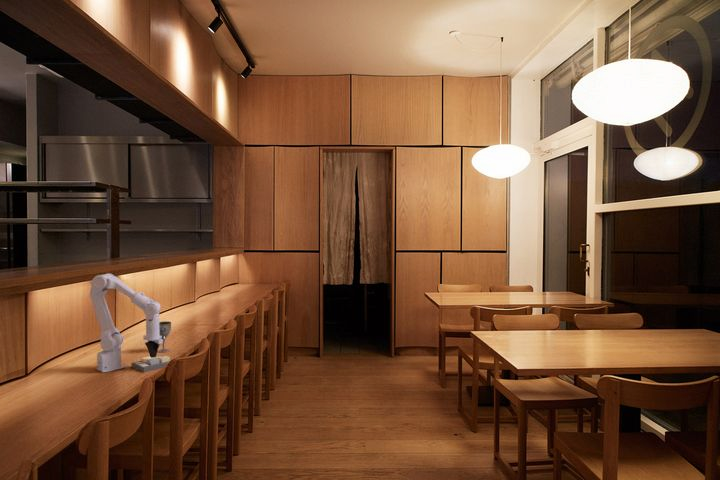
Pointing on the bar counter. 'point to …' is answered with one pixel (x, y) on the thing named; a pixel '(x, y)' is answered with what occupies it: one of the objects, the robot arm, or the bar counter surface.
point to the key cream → (146, 359)
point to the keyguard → (148, 366)
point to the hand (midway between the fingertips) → (153, 356)
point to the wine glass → (164, 333)
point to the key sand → (164, 359)
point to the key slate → (153, 361)
